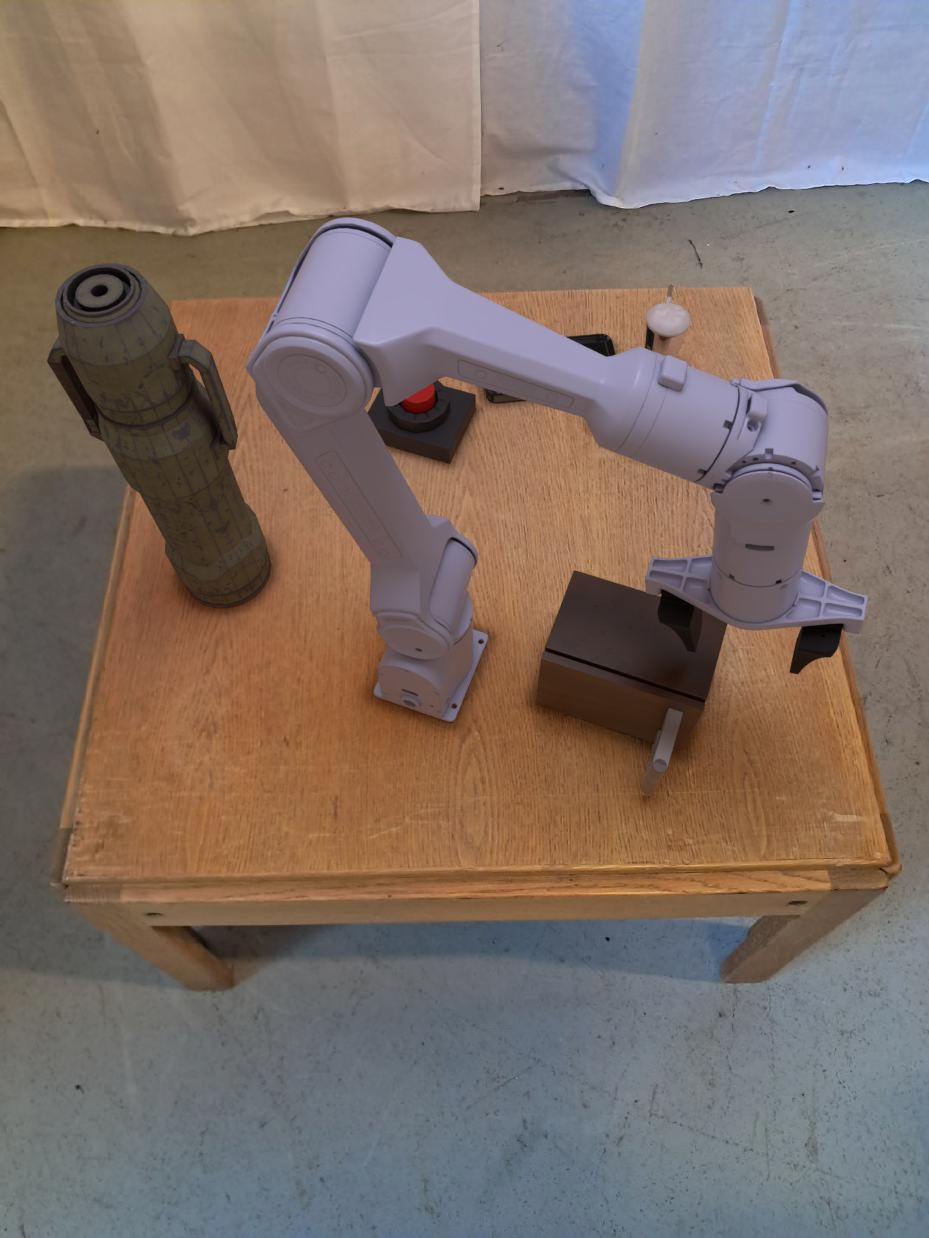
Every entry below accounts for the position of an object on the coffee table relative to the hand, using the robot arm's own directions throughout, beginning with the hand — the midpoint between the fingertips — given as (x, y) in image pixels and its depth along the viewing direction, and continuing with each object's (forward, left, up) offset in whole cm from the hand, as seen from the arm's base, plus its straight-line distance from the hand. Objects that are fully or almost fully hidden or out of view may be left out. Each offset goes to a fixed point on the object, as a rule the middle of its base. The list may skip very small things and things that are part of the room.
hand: (744, 651), depth 70 cm
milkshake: (+39, +15, -14) cm, 44 cm away
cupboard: (+1, +8, -14) cm, 16 cm away
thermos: (-1, +48, -14) cm, 50 cm away
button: (+23, +37, -10) cm, 45 cm away
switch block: (+23, +37, -14) cm, 46 cm away
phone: (+35, +26, -14) cm, 46 cm away
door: (-6, +8, -14) cm, 17 cm away
